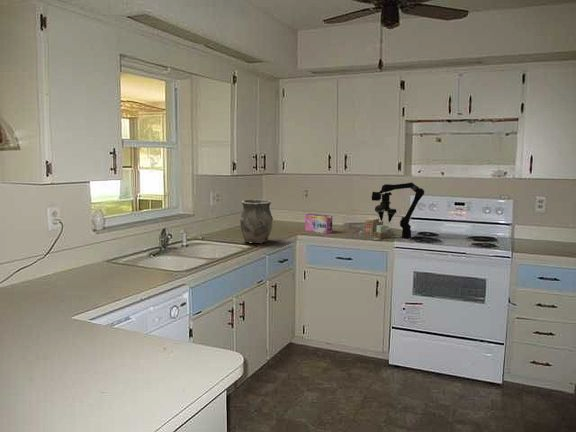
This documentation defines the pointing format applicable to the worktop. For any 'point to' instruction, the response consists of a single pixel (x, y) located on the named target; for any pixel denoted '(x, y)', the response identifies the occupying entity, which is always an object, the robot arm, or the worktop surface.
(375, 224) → the stack of blocks
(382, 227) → the sage cube
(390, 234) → the grey cube
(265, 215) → the clay pot
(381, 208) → the robot arm
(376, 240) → the slate card
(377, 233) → the walnut base block
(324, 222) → the gum box
